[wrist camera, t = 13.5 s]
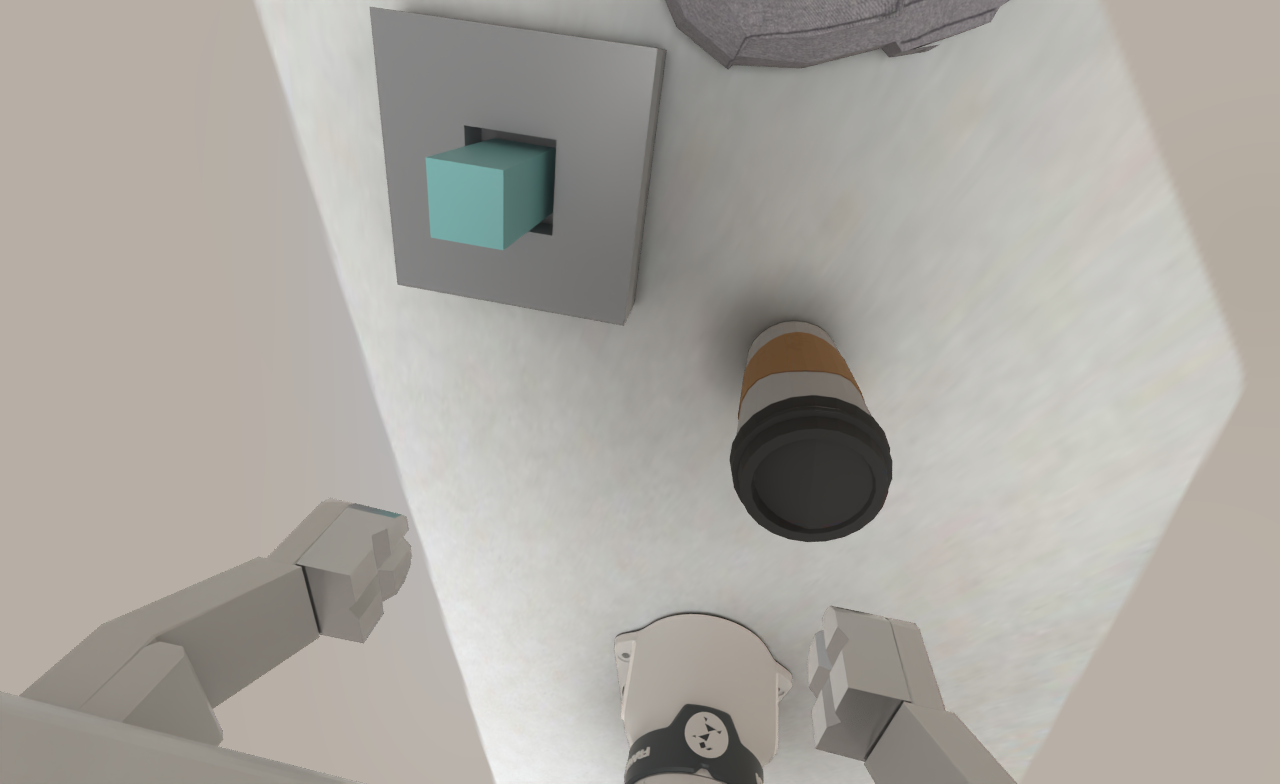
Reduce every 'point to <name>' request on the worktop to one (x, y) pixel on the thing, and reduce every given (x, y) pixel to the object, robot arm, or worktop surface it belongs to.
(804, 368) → the coffee cup
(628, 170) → the socket
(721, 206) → the worktop surface
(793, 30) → the small grey backpack
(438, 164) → the plug
